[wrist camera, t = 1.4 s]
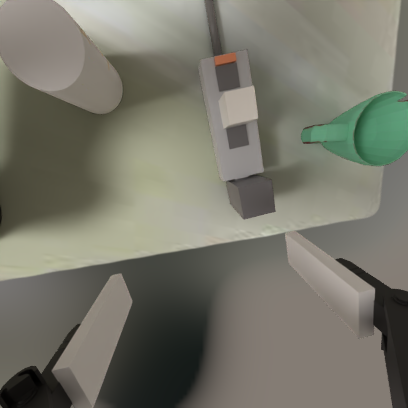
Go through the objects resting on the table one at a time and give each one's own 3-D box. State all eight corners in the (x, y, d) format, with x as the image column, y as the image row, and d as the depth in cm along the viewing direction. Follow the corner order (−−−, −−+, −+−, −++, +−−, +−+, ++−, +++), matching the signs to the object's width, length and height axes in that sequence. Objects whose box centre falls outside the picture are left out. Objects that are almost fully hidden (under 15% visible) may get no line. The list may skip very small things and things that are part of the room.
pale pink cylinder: (128, 69, 30) (92, 17, 18) (116, 121, 32) (76, 103, 20) (74, 47, 29) (-2, -25, 17) (64, 102, 30) (-10, 71, 19)
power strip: (219, 178, 36) (224, 181, 31) (181, -15, 28) (180, -47, 23) (255, 169, 36) (265, 172, 32) (227, -25, 28) (234, -58, 24)
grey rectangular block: (230, 204, 37) (243, 220, 29) (222, 162, 35) (234, 165, 26) (254, 198, 37) (275, 212, 29) (248, 156, 35) (268, 157, 26)
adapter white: (223, 129, 30) (229, 124, 25) (218, 101, 29) (224, 92, 24) (247, 123, 30) (258, 118, 26) (243, 95, 29) (254, 85, 25)
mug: (361, 106, 35) (428, 89, 25) (353, 161, 37) (410, 164, 28) (284, 110, 34) (323, 93, 24) (281, 166, 36) (316, 170, 27)
